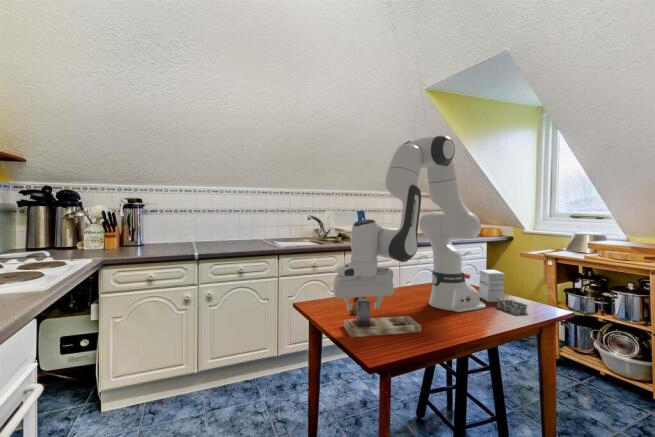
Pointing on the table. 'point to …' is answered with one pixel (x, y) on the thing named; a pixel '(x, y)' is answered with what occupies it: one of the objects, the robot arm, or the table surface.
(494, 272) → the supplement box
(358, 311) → the steel peg
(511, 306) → the egg carton
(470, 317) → the table surface
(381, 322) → the beige flat frame
